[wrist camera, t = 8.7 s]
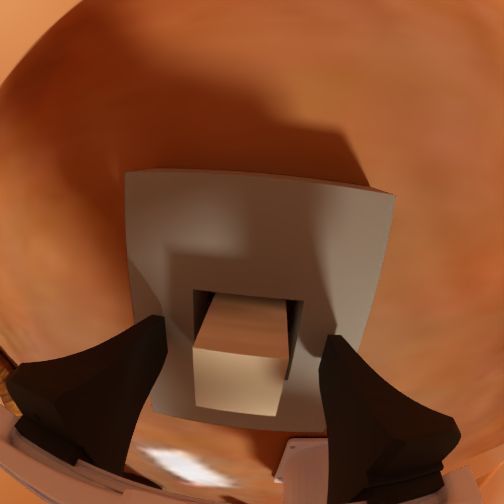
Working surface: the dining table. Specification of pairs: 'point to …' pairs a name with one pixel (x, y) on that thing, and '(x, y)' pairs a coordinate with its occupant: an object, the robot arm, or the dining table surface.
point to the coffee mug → (140, 480)
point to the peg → (241, 354)
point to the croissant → (3, 369)
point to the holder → (253, 271)
